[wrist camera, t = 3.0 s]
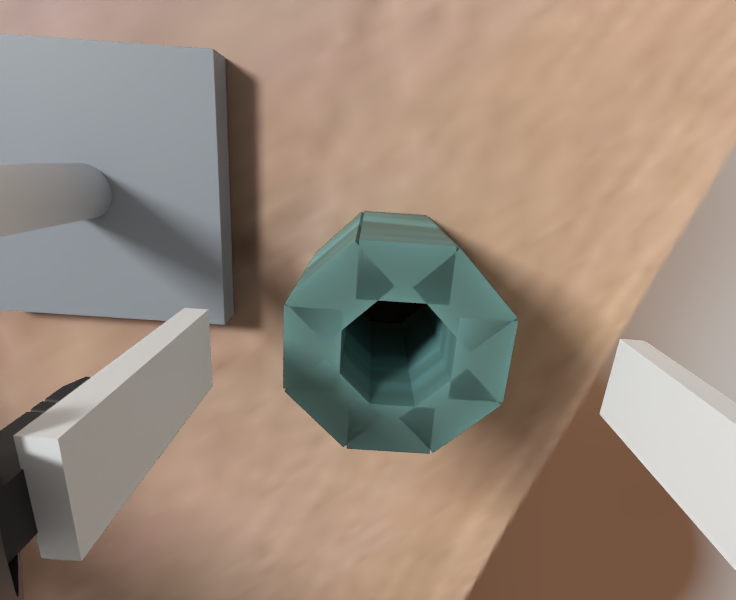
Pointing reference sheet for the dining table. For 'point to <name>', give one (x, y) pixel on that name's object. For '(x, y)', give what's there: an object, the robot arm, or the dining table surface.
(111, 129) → the spindle plate
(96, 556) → the dining table surface
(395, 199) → the dining table surface
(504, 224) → the dining table surface
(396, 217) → the bead
